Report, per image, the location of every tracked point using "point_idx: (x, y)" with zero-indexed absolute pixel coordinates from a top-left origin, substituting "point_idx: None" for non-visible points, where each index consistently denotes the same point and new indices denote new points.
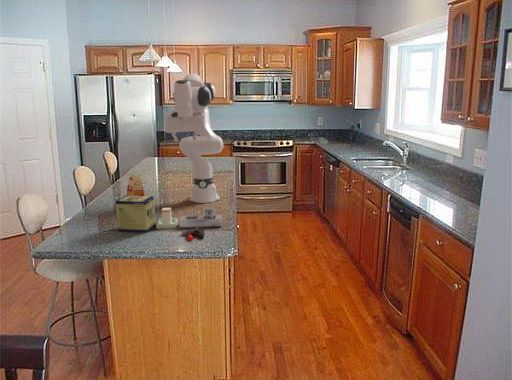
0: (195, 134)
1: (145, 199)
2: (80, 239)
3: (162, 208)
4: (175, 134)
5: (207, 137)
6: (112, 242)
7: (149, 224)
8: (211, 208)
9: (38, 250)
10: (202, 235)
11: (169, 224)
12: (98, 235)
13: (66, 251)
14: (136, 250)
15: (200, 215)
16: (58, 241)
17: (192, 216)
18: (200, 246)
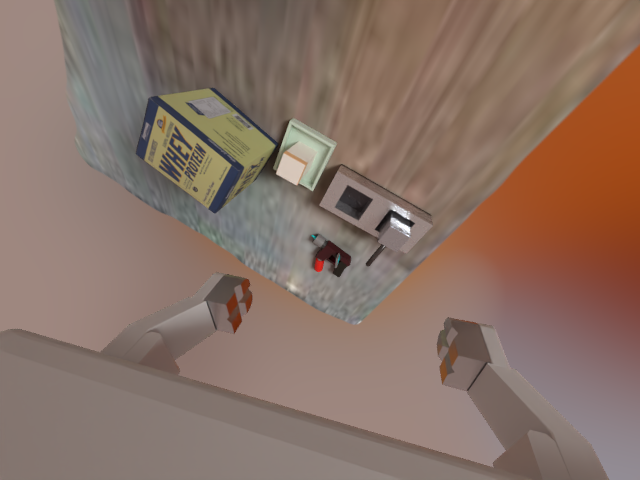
0: (512, 420)
1: (215, 196)
2: (132, 139)
3: (281, 158)
4: (173, 371)
5: None
6: None
7: (254, 177)
8: (398, 242)
9: (85, 157)
10: (337, 276)
11: (301, 184)
12: None
13: (132, 190)
14: (233, 250)
15: (382, 199)
16: (95, 125)
17: (361, 192)
18: (322, 292)
